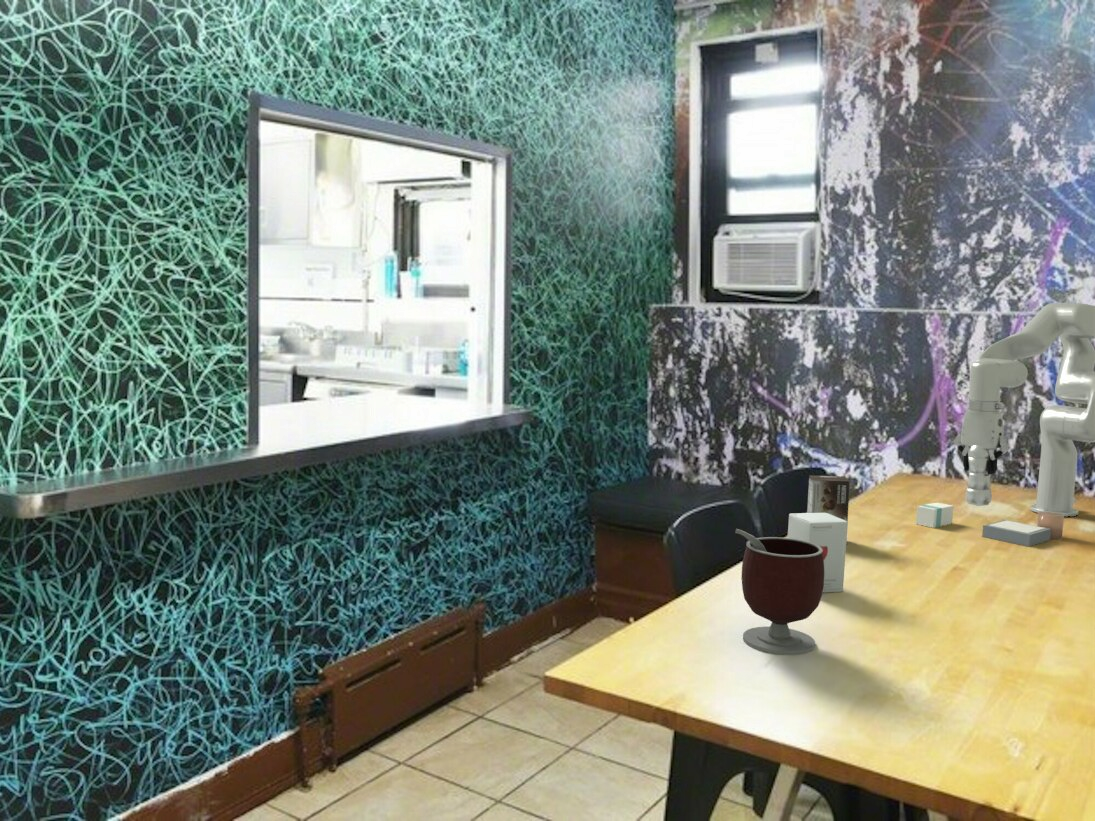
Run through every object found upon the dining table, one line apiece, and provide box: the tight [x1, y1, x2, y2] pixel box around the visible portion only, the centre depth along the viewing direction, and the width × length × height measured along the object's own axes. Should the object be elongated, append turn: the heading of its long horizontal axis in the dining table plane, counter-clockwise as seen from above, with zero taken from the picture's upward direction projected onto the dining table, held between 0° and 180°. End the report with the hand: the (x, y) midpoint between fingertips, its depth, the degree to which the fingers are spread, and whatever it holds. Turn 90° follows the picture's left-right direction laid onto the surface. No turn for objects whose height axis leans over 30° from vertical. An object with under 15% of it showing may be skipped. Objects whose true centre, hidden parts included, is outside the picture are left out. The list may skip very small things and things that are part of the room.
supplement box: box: [787, 512, 849, 594], centre depth 202 cm, size 9×9×15 cm
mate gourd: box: [735, 528, 825, 656], centre depth 168 cm, size 16×14×20 cm
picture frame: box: [981, 519, 1051, 547], centre depth 252 cm, size 12×12×3 cm
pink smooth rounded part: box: [1036, 512, 1065, 540], centre depth 255 cm, size 6×6×6 cm
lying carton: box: [915, 502, 954, 529], centre depth 266 cm, size 10×5×5 cm, turn 129°
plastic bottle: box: [965, 445, 993, 507], centre depth 267 cm, size 6×7×20 cm
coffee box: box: [806, 474, 851, 544], centre depth 242 cm, size 9×6×16 cm
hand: (979, 471), depth 267 cm, fingers closed on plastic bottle, 5 cm apart
